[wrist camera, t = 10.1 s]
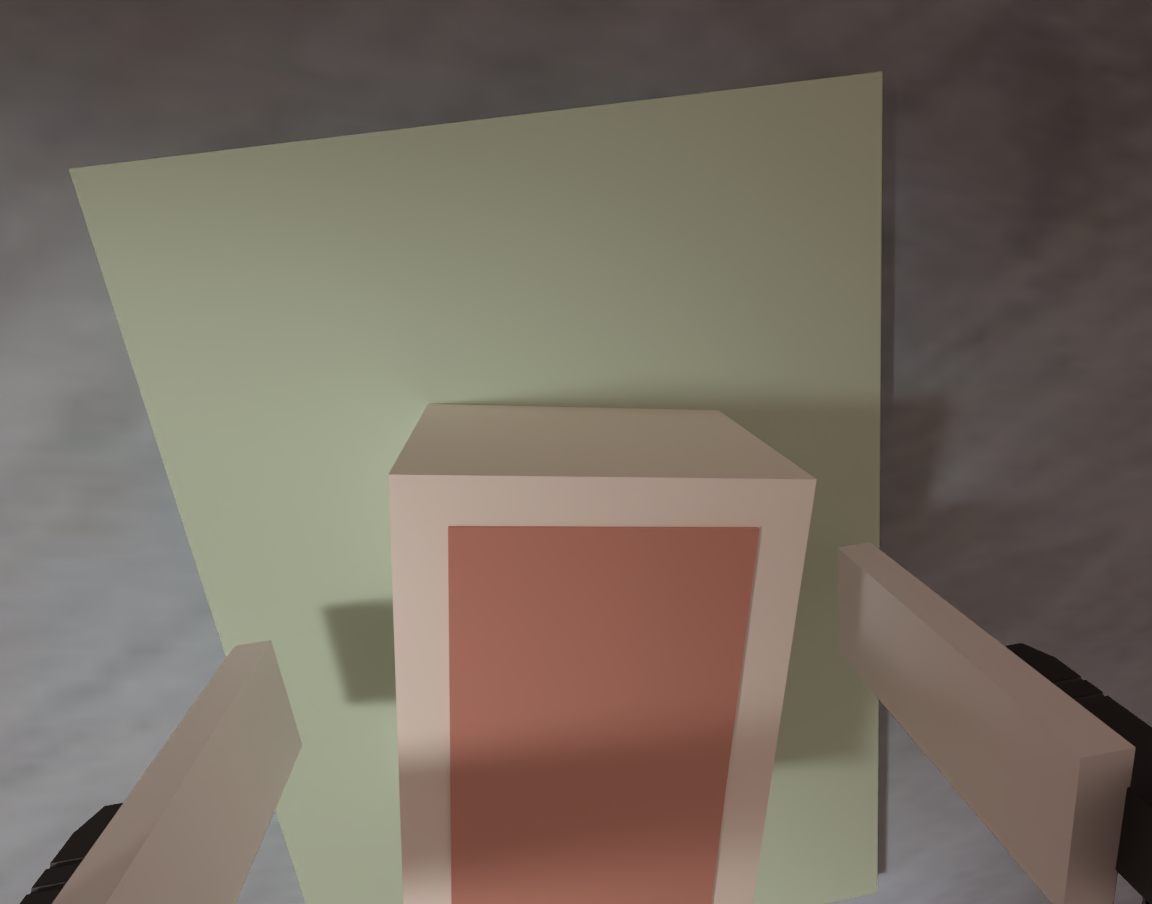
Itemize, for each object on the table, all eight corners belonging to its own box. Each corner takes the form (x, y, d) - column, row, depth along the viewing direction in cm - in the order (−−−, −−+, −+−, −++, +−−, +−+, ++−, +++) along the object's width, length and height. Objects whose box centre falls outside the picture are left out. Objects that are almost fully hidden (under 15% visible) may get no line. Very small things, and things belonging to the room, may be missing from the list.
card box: (427, 403, 14) (387, 475, 10) (718, 410, 15) (818, 480, 10) (434, 783, 17) (405, 990, 12) (680, 773, 18) (745, 966, 13)
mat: (341, 977, 19) (336, 999, 19) (87, 172, 13) (68, 168, 12) (866, 875, 20) (877, 892, 20) (867, 79, 14) (882, 71, 13)
